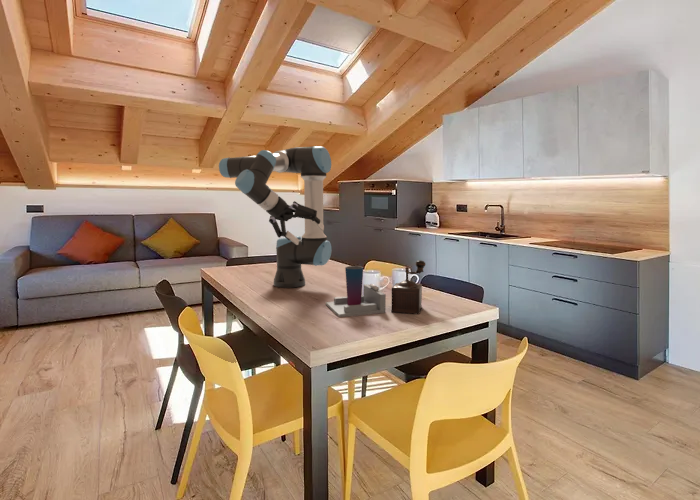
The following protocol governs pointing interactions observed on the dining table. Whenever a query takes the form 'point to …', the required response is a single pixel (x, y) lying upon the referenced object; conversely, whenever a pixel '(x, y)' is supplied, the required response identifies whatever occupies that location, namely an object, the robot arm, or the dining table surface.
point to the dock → (369, 303)
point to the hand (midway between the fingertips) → (310, 235)
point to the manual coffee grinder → (408, 293)
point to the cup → (354, 284)
